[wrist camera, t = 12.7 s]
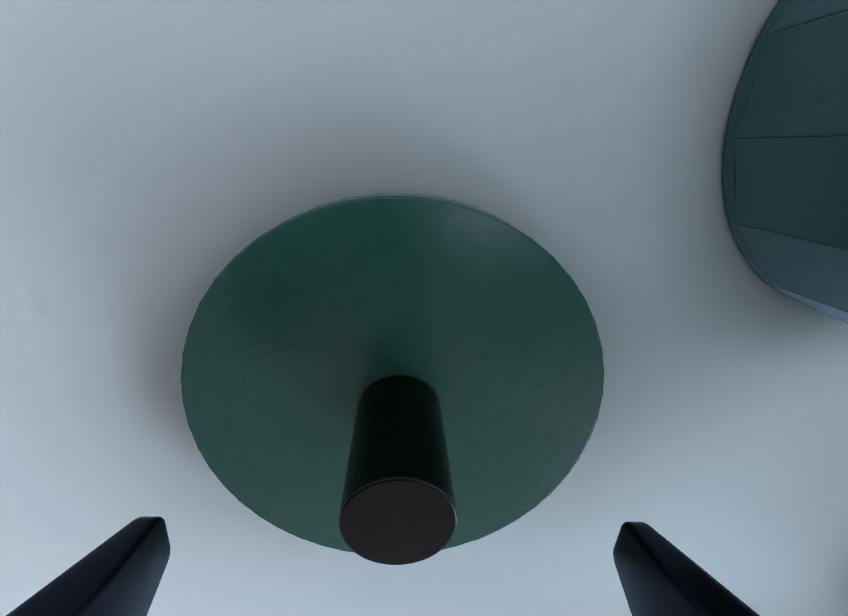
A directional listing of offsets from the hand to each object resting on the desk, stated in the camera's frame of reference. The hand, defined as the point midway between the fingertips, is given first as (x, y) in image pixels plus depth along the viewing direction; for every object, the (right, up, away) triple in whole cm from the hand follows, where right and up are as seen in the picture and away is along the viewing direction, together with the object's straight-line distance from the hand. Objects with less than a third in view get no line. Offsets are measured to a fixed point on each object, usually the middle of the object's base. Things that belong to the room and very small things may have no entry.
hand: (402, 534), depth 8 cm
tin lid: (0, +2, +4) cm, 5 cm away
